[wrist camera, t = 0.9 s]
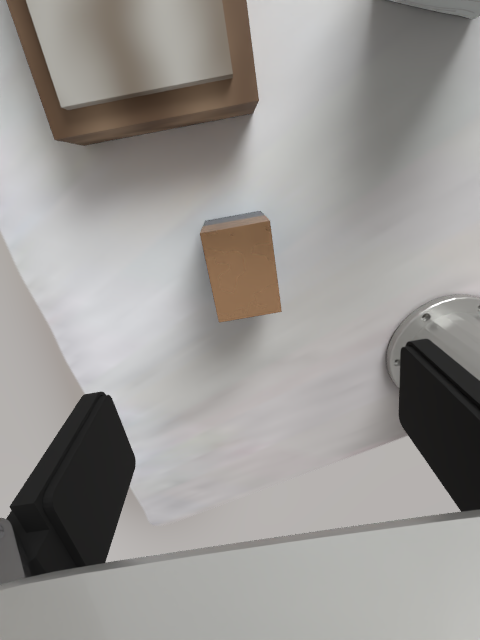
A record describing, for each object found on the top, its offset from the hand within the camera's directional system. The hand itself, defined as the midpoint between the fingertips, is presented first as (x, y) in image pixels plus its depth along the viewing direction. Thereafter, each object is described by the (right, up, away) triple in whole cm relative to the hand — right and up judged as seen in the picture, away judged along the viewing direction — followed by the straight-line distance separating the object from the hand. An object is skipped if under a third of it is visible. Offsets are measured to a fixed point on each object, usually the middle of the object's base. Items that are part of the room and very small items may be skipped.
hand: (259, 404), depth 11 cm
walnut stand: (-8, +24, +14) cm, 29 cm away
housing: (-1, +9, +21) cm, 23 cm away
